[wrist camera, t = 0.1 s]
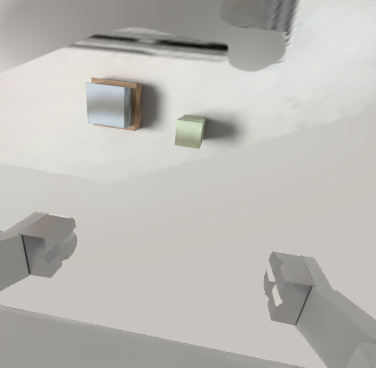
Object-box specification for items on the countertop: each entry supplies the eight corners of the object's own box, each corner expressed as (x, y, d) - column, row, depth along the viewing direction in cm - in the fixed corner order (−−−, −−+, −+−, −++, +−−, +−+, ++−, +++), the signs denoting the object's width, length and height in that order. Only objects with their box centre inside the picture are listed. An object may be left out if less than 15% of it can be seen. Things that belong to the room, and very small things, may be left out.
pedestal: (100, 78, 54) (81, 76, 46) (142, 84, 53) (129, 82, 45) (101, 122, 57) (83, 127, 50) (140, 128, 57) (128, 133, 49)
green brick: (184, 115, 54) (177, 119, 45) (206, 117, 54) (202, 123, 44) (182, 136, 56) (174, 145, 47) (203, 139, 56) (199, 148, 46)
